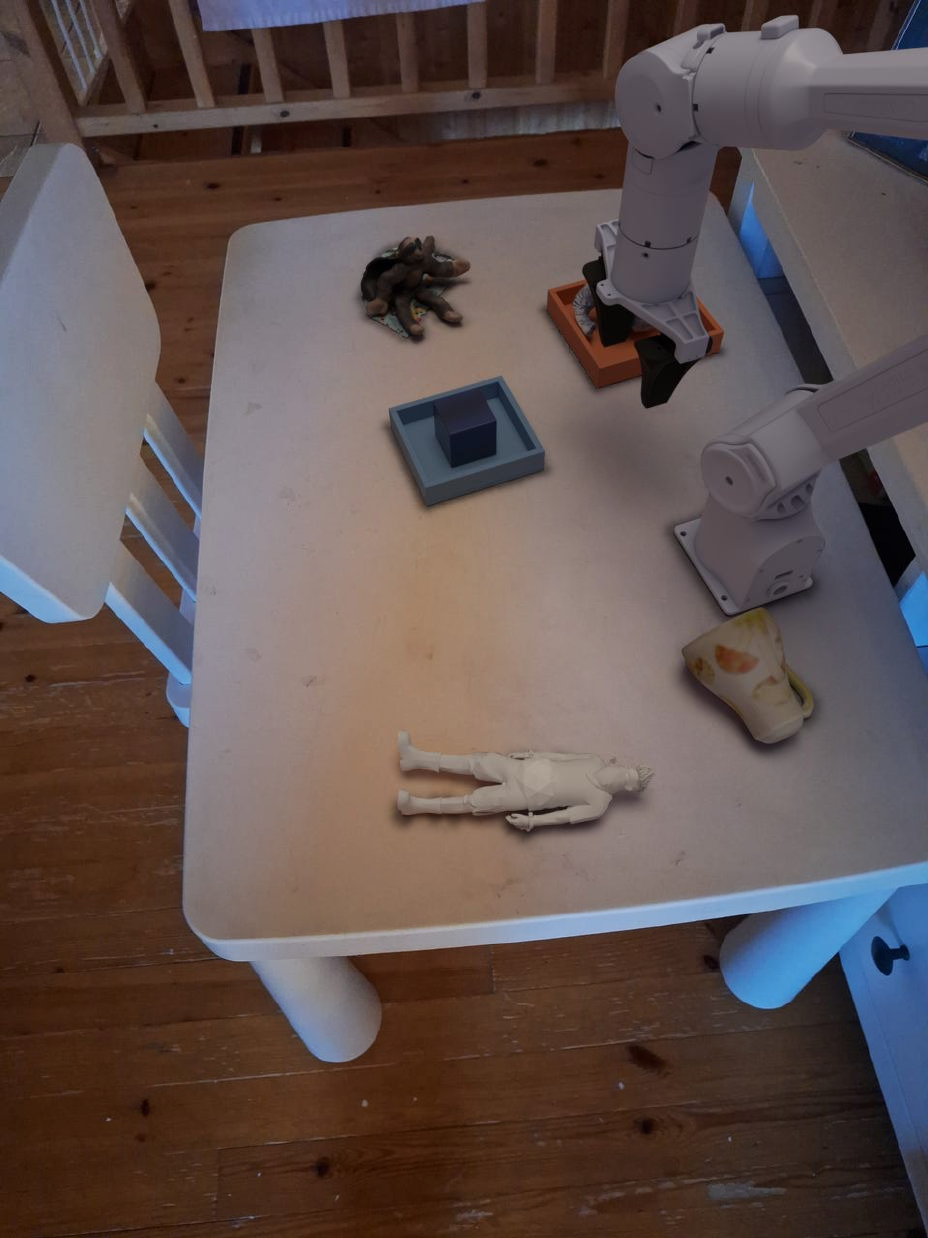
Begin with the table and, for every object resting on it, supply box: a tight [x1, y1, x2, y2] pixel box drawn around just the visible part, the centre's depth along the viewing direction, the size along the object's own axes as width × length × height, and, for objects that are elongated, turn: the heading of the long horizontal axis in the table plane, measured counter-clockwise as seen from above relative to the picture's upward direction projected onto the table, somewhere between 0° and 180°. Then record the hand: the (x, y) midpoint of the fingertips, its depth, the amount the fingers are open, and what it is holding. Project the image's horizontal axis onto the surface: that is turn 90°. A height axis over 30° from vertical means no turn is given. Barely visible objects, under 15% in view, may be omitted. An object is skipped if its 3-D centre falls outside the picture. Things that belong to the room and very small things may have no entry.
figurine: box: [397, 729, 657, 832], centre depth 64 cm, size 7×4×18 cm
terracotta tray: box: [546, 278, 725, 389], centre depth 90 cm, size 12×13×2 cm
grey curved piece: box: [572, 284, 654, 336], centre depth 88 cm, size 5×5×10 cm
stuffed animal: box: [360, 235, 471, 338], centre depth 94 cm, size 12×10×12 cm
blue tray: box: [388, 375, 546, 507], centre depth 82 cm, size 10×11×2 cm
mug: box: [680, 606, 815, 744], centre depth 67 cm, size 8×10×10 cm
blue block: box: [433, 387, 497, 468], centre depth 81 cm, size 4×4×4 cm
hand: (633, 371), depth 74 cm, fingers open, 7 cm apart
